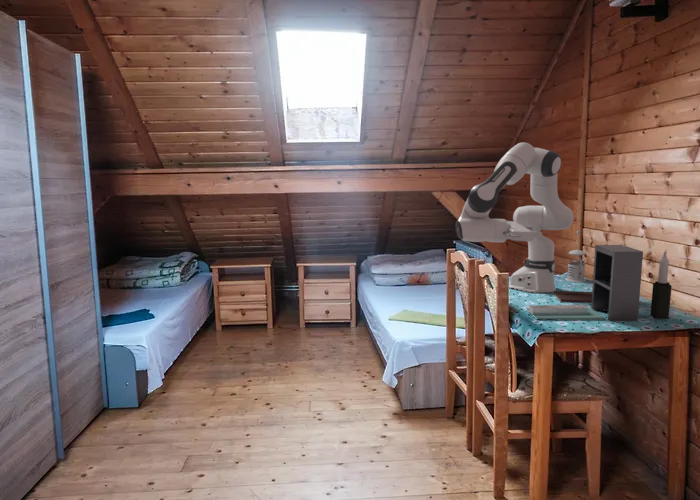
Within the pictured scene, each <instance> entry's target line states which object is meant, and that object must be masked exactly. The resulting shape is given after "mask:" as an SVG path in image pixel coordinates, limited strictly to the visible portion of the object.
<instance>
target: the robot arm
mask: <svg viewBox="0 0 700 500" xmlns="http://www.w3.org/2000/svg"><path fill="white" fill-rule="evenodd" d="M561 166H562V158H561V155H560V154H559V152H556V151H554V150H548V149H545V148H540V147H534V146H533V145H532V144H530V143H529V142H519V143H517V144H515V145H514V146H512V147H511V148H510V149H509V150H508V151H506V153H505V154H504V155H503V156H502V157H501V158H500V159H499V161H498V163H497V164H496V166H495V168H494V170H493V173H492V174H491V175H490V176H489V177H488V178H487V179H486V180H485V181H483V182H481V183H477V185H474V186H473V187H472V188H471V189H470V191H469V194H468V197H467V199H466V201H465V203H464V204H463V206H462V211H461V214H460V215H459V218H458V220H456V222H455V233H456V235H457V237H458V239H460V240H462V241H465V242H472V243H481V242H488V243H505V242H506V241H507V240H511V241H515V242H516V241H517V242H527V244H528V245H527V247H528V248H527V250H528V257H526V258H525V259H524V260H523V262H522V263H523V265H524V266H522V267H520V268H519V269H517V270H516V271H514V272H513V273H512V274H511V277H510V279H509V280H510V281H509V282H510V283H509V288H508V289H511V288H514V289H513V290H516V289H518V290H517V291H521V290H522V292H526V291H527V293H531V292H533V293H532V294H538V293H552V292H553V293H554V291H557V289H556V284H555V276H554V274H555V273H554V272H555V268H556V267H555V266H556V263H555V260H556V259H555V244H554V241H553V240H552V239H550V238H549V237H547V236H545V235H543V232H542V231H543V230H544V231H560V230H568V229H569V228H570V227H571V226H572V225H573V223H574V219H575V218H574V217H575V216H574V212H573V211H572V209H571V208H570V207H568V206H566V204H564V203H563V201H561V199H560V197H559V193H558V174H559V173H558V172H559V171H560V169H561ZM525 174H527V175H530V187H529V188H530V191H529V192H530V193H529V194H530V197H531V199H532V200H533V201H535V202H537V203H539V204H540V205H524V206H519V207H517V208H516V209H515V210H514V212H513V215H512V220H513V221H512V220H506V218H490V217H489V215H490V212H491V210H492V209H493V208H494V206H495V205H496V204H497V202H498V200H499V199H498V198H499V194H500V192H501V190H502V189H504V187H505V186H506V185H507V186H511V185H512V186H513V185H515V184H516V183H517V182H518V181H520V180H521V179H522V178H523V177H524V176H525Z"/></svg>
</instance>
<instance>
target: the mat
mask: <svg viewBox="0 0 700 500" xmlns="http://www.w3.org/2000/svg"><path fill="white" fill-rule="evenodd" d="M525 309H527V310H528V311H529V307H526V308H525ZM528 311H527V312H528ZM534 316H535V317H536V318H537V319H561V320H560V321H605V320H606V317H605V315H602V314H601V313H599V312H597V310H593V309H591V307H588V314H549V315H534ZM562 319H563V320H562Z"/></svg>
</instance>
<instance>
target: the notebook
mask: <svg viewBox="0 0 700 500" xmlns="http://www.w3.org/2000/svg"><path fill="white" fill-rule="evenodd" d="M553 295H554V296H555V297H556V298H557V299H558V300H559V302H560V303H575V304H576V303H577V304H578V303H579V304H592V291H572V290H571V291H570V290H555V291H553Z"/></svg>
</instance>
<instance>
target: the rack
mask: <svg viewBox="0 0 700 500" xmlns="http://www.w3.org/2000/svg"><path fill="white" fill-rule="evenodd" d="M643 256H644V251H643V250H639V249H637V248H633V247H629V246H627V245H623V244H595V245H594V259H593V260H594V261H593V273H592V274H593V275H592V290H591V292H592V303H590V304H591V307H590V308H591V309H593V310H594V311H608V314H607V320H608V322H638V321H639V309H640V296H641V293H640V292H641V283H642V271H643V258H644V257H643Z"/></svg>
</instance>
